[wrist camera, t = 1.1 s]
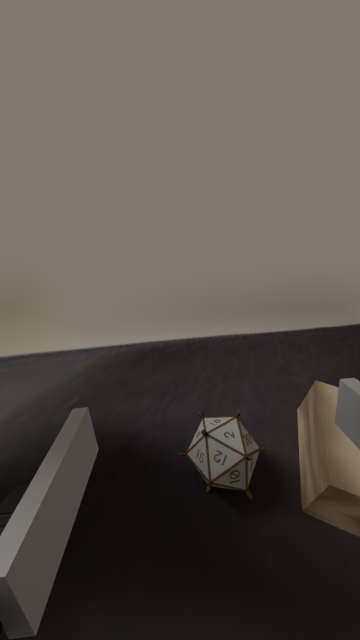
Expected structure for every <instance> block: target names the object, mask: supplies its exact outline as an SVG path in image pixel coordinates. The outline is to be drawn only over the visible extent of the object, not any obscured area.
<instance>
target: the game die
mask: <svg viewBox="0 0 360 640" xmlns="http://www.w3.org/2000/svg"><path fill="white" fill-rule="evenodd" d="M235 414H236V415H235V416H230V417H206V418H205V417H204V415H203V413H201V412H199V416H200V418H202V420H201V422H200V424H199V427H198V429H197V431H196V433H195V435H194V437H193V439H192V441H191V443H190V446H189V448H188V450H187V452H182V451H181V453H179V455H180V456H187V457H188V458H189V459H190V461H191V462H192V464H193V465H194V466H195V468H196V469H197V471H198V472H199V473H200V475H201V476H202V478H203V479H204V480H205V482H206V483H207V485H206V493H208V492H210V490H211V489H212V488H211V487H216V488H224V489H232V490H240V491H245V492H246V495H247V496H248V498H250V499H252V494H251V492H250V491H249V490H248V487H249V484H250V481H251V478H252V475H253V472H254V469H255V465H256V462H257V459H258V456H259V453H260V450H262V451H266V450H267V449H268V448H267V447H265V446H261V447H259V445H258V444H257V443H256V441H255V440H254V439H253V437H252V436H251V435H250V433H249V432H248V431H247V429H246V428H245V427H244V425H243V424H242V422H241V421H240V420H239V418H238V417H239V416H240V414H241V413H240V409H239V410H238V411H236V413H235ZM252 500H253V499H252Z"/></svg>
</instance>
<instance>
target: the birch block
mask: <svg viewBox="0 0 360 640" xmlns="http://www.w3.org/2000/svg"><path fill="white" fill-rule="evenodd" d="M338 390H339V388H338V387H335V386H331V385H328V384H325V383H322V382H319V381H315V382H314V384H313V386H312V387H311V389H310V390H309V392H308V394H307V395H306V397H305V399H304V400H303V402H302V403H301V405H300V407H299V408H298V410H297V412H298V434H299V456H300V478H301V500H302V512H304V513H306V514H309V515H311V516H313V517H315V518H318V519H320V520H322V521H324V522H327V523H329V524H331V525H333V526H336V527H338V528H340V529H342V530H345V531H347V532H349V533H352V534H354V535H356V536H358V537H360V450H359V449H358V448H357V447H356V445H355V444H354V443H353V442H352V441H351V440H350V439H349V438H348V437H347V436H346V435H345V433H344V432H343V431H342V430H341V429H340V428H339V427H338V426H337V425H336V424H335V414H336V406H337V398H338Z"/></svg>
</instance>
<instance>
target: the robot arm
mask: <svg viewBox="0 0 360 640" xmlns="http://www.w3.org/2000/svg"><path fill="white" fill-rule="evenodd" d="M335 424H336V425H337V426H338V427H339V428H340V429H341V430H342V431H343V432H344V433H345V435H346V436H347V437H348V438H349V439H350V440H351V441H352V442H353V443H354V444H355V445H356V447H357V448H358V449H359V450H360V382H359V381H358V380H357V379H355V378H348V379H340V382H339V390H338V398H337V406H336V414H335ZM98 450H99V449H98V445H97V441H96V437H95V433H94V429H93V425H92V421H91V417H90V413H89V410H88V407H86V408H77V409H73V410H72V412H71V413H70V415H69V417H68V418H67V420H66V422H65V424H64V425H63V427H62V429H61V431H60V432H59V434H58V436H57V438H56V439H55V441H54V443H53V445H52V446H51V448H50V450H49V452H48V453H47V455H46V457H45V459H44V460H43V462H42V464H41V466H40V467H39V469H38V471H37V473H36V474H35V476H34V478H33V480H32V481H31V483H29V484H20V485H18V486H17V487H16V488H15V489H14V490H13V491H12V492H11V493H10V494H9V495H8V496H7V497H6V498H5V499H4V500H3V502H2V504H1V505H0V633H1V631H2V629H3V630H4V631H5V633H6V635H7V636H8V638H9V639H15V638H23V637H31V636H36V634H37V631H38V628H39V625H40V622H41V619H42V616H43V613H44V610H45V607H46V604H47V601H48V598H49V595H50V592H51V589H52V586H53V583H54V580H55V577H56V574H57V571H58V568H59V565H60V562H61V559H62V556H63V553H64V550H65V548H66V545H67V542H68V539H69V536H70V533H71V530H72V527H73V524H74V521H75V518H76V515H77V512H78V509H79V506H80V503H81V500H82V497H83V494H84V491H85V488H86V485H87V482H88V479H89V476H90V473H91V470H92V467H93V464H94V462H95V459H96V456H97V453H98Z"/></svg>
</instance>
